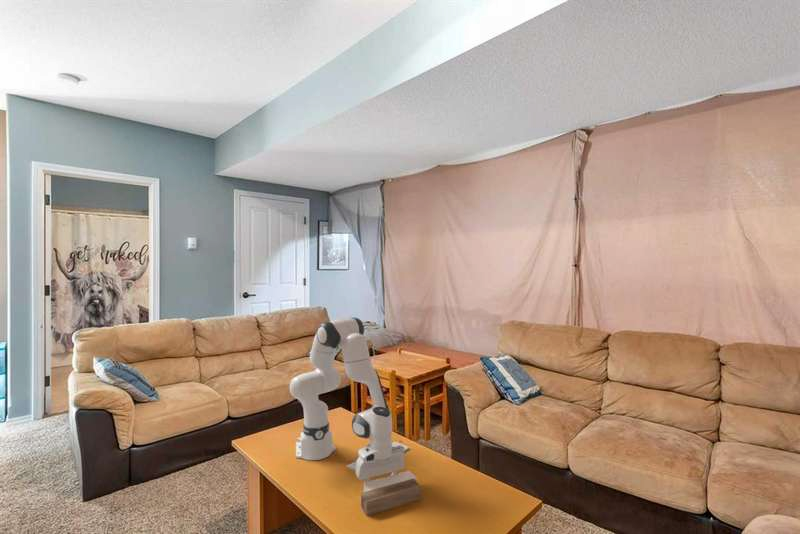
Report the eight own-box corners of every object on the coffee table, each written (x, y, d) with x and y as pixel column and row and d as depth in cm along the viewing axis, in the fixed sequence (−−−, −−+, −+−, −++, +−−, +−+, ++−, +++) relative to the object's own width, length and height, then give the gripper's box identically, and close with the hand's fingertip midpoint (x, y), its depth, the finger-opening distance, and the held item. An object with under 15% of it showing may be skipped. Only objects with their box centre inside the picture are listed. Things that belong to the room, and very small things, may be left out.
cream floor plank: (363, 495, 150) (363, 482, 150) (409, 482, 159) (409, 470, 159) (369, 504, 145) (369, 491, 145) (416, 490, 154) (416, 477, 154)
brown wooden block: (360, 506, 143) (360, 493, 143) (413, 491, 153) (413, 478, 153) (366, 516, 138) (366, 502, 138) (420, 499, 148) (420, 486, 148)
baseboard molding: (343, 467, 172) (362, 477, 164) (343, 460, 172) (362, 470, 164) (391, 442, 195) (409, 450, 187) (391, 437, 195) (409, 444, 187)
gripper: (400, 441, 162) (400, 473, 162) (354, 451, 153) (354, 486, 153) (407, 447, 156) (407, 481, 156) (359, 458, 147) (359, 495, 147)
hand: (380, 484), depth 154 cm, fingers open, 8 cm apart
